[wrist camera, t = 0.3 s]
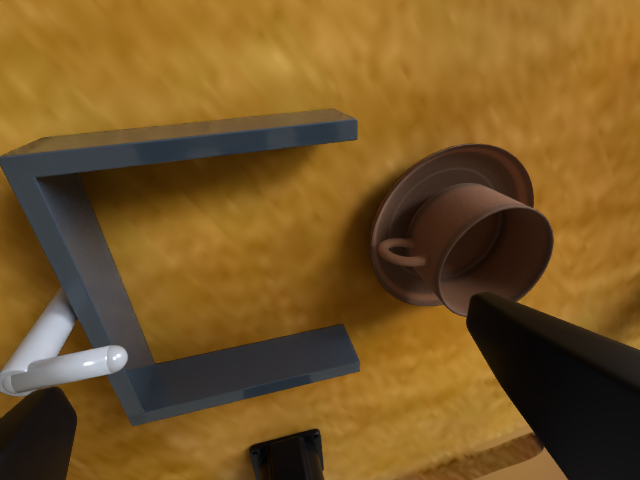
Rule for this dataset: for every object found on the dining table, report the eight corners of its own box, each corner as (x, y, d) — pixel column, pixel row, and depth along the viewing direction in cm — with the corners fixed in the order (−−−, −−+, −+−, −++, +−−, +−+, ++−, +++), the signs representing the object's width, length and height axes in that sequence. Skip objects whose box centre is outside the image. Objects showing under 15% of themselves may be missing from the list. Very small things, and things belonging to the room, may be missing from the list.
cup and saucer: (378, 312, 28) (414, 372, 22) (342, 174, 22) (380, 211, 16) (513, 259, 29) (578, 305, 23) (515, 112, 23) (604, 128, 17)
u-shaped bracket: (343, 332, 28) (381, 420, 21) (115, 383, 25) (74, 503, 18) (334, 108, 20) (391, 133, 13) (-5, 142, 17) (-159, 198, 10)
